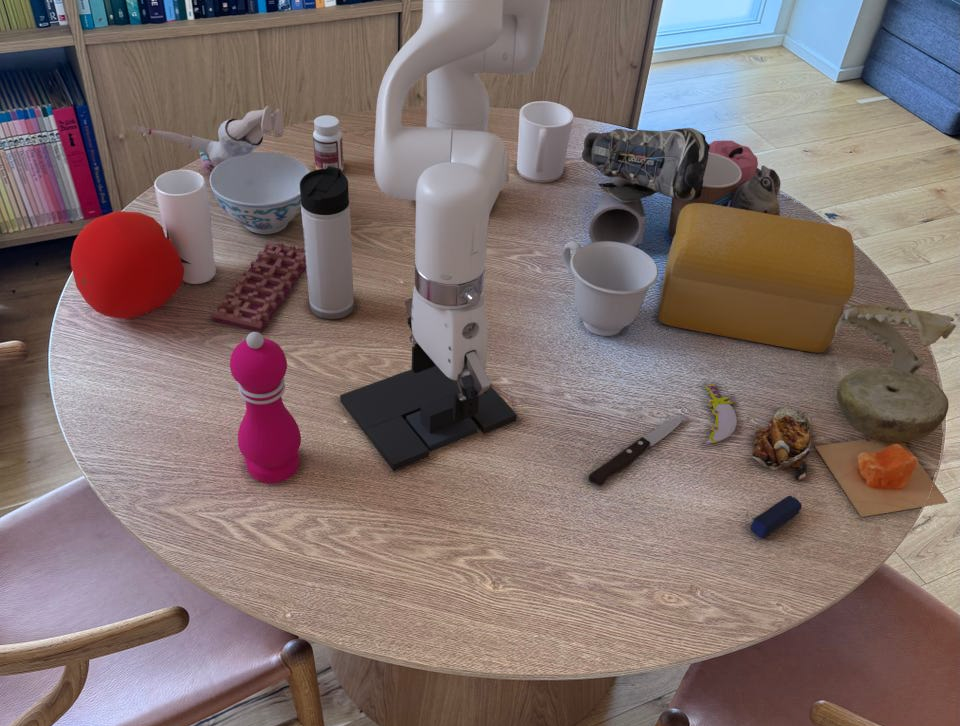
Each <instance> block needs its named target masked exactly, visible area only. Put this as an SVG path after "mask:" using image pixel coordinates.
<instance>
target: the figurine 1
mask: <svg viewBox="0 0 960 726" xmlns="http://www.w3.org/2000/svg"><path fill="white" fill-rule="evenodd" d="M284 125H285V124H284V114H283V111H282V109H281V108H277V109H276V110H275V111H274V112H273V110H272V107H271V106H270V105H265V107H264V109H255V110H254V109H253V110H250V111H248V112H247V113H246V114H245V116H244V117H243V118H242V119H238V118H230V119H227V120H224V121H223V122H222V123H221V124H220V126H219V128H218V130H217V131H218V132H217V135H218V139H217V140H211V139H207V138H203V137H199V136H196V135H190V136H187V135H183V134H179V133H176V132H172V131H164V130H156V129H155V130H154V129H151V128H150V129H149V128H146V127H144V126H140V125H134V126H132V127H131V129H132V131H134V132H137V133H141V134H142V137H146V136H148V135H152V136H154V137H157V138H161V139H164V140H167V141H170V142H174V143H180V144H183V145H186V146H188V147H189V149H191V150H195V151H198V152H199V157H200V161H201V168H200V169H199V170H198V172H201V171H202V170H204V171H207V173H208V172H209V173H210V174H211V173H212V171H213V170H214V169H215V167H216V166H218V165H219V164H220V163H222V162H223V161H225V160H227V159H229V158H232V157H235V156H242V155H245V154H248V153H256V152H257V151H254V150H256V149H257V148H259V147H260V145H261V144H262V142H263V141H264V140H263V139H264V135H266V136H269V137H271V136H272V137H273V138H276V139H279V138H282V137H283V136H284V131H285V126H284Z"/></svg>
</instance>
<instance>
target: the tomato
mask: <svg viewBox="0 0 960 726" xmlns="http://www.w3.org/2000/svg"><path fill="white" fill-rule="evenodd" d="M182 263H188V264H191V263H189V262H187V261H185V260H183V259H181V258H180V256H179V254H178V251H177V250H176V248H175V247H174V245H173V244H172V242H171V241H170V240H169V235H168V229H167V234H166V233H165V229H164V226H162V225H161V224H160V223H159V222H158V221H157V220H156V219H155V218H154V217H153V216H150V215H147V214H145V213H143V212H139V211H125V210H116V211H113V212H110V213H107V214H103V215H101V216H98V217H96V218H94V219H93V220H92V221H89V223H87V224H86V225H85V226H84V227H83V229H81V230H80V231H79V233H78V235H77V236H76V238H75V240H74V242H73V245H72V250H71V254H70V267H71V271H72V275H73V279H74V282H75V286H76V289H77V290H78V291H79V293H80V295H81V296H82V298H83V300H84V301H85V302H86V304H87V305H89V306H90V307H91V308H92V309H93V310H94V311H95V312H96V313H98V314H101V315H103V316H105V317H110V318H115V319H122V320H123V319H125V320H126V319H135V318H138V317H140V316H143V315H146V314H148V313H150V312H153V311H155V310H157V309H160V308H161V307H162V306H164V305H165V304H166V303H167V302H168V301H170V299H171V298H172V297H173V296H174V295H175V294H176V293H177V291H178V290H179V289H180V288H181V286H182V285H184V286H185V287H187V286H186V285H187V284H186V282H184V281H183V275H184V267H183V264H182Z"/></svg>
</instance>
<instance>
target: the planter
mask: <svg viewBox="0 0 960 726" xmlns="http://www.w3.org/2000/svg"><path fill="white" fill-rule="evenodd" d="M610 182H612V183H614V184H616V185H618V186H621V185H623V184H626V183H632V184H635V182H631V181H629V180H626V179H623V178H620V177H611V178H610V180H609V183H610ZM646 223H647V215H646V212H645V208H644V205H643V201H642V199H639V200H635V201H631V202H621V201H620V200H618V199H616V198H614V197H613V196H612V195H610V194H609V193H607V192H604V193H603V195H602V198H601V199H600V201H599V204H598V206H597V208H596V210H595V211H594V213H593V215H592V218H591V219H590V221H589V225H588V237H589V238H590V241H591V242H592V243H595V242H604V241H608V242H619V243H624V244H627V245H631V246H633V247H636V246H637V245H643V241H644V240H643V239H644V235H645V230H646V225H647V224H646Z"/></svg>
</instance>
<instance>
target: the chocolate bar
mask: <svg viewBox="0 0 960 726" xmlns="http://www.w3.org/2000/svg"><path fill="white" fill-rule="evenodd" d="M264 245H265V249H264V250H263V251H259V252H258V253H257V256H258V257H257V259H256V260H255V261H254V260H252V261H251V262H250V264H249V265H250V268H249V269H248V270H244V271H243V272H242V275H241V277H240V278H238V280H236V281H235V282H234V288H233V289H232V291H227V292H226V294H225V295H226V298H223V299H222V301H220V302H219V303H218V304H217V310H215V309H213V310H212V311H211V318H212V319H211V320H212V322H218V323H221V324H225V325H230V326H234V327H238V328H242V329H246V330H251V331H253V332H258V333H262V332H263V330H264V329H265V327H266V326H267V325H268V323H269V322H270V321H271V319H272V318H273V316H274V315H275V314H276V312H277V311H278V310H279V308H280V306H281V305H282V303H283V302H284V301H285V299H286V298H287V297H288V295H289V293H290V292H291V291H292V290H293V288H294V287H295V286H296V284H297V282H298V281H299V280H300V278H301V277H302V275H303V274H304V273H305V271H307V269H306V258H305V246H302V245H299V246H298V247H296V244H294V243H290V244H289V246H287V245H284V241H281V240H278V242H277V243H273V242H269V241H266V243H265V244H264Z"/></svg>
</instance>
